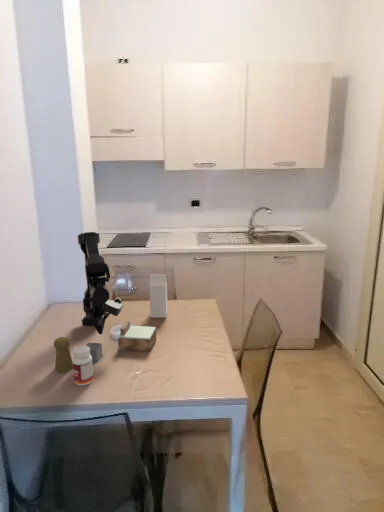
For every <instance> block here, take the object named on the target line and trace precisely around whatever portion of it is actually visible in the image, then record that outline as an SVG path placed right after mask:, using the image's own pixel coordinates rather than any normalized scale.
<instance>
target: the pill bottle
mask: <svg viewBox="0 0 384 512" xmlns="http://www.w3.org/2000/svg"><path fill="white" fill-rule="evenodd" d="M72 355H73V356H72V357H71V359H72V365H73V369H72V375H73V377H72V378H73V383H74V384H75V385H76V386H87V385H89V384H91V383H92V382H93V381H94V368H93V362H92V356H91V355H90V348H89V347H88V346H86V345H80V346H76V347H74V348H73V349H72Z"/></svg>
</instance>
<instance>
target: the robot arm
mask: <svg viewBox="0 0 384 512" xmlns="http://www.w3.org/2000/svg"><path fill="white" fill-rule="evenodd" d="M100 239H101V238H100V233H97V232H95V231H90V232H80V233H79V234H78V235H77V243H78V244H77V245H79V248H80V250H81V251H82V253H83V255H84V261H85V262H84V271H85V272H84V273H85V278H86V288H85V291H84V293H83V298H82V310H83V312H84V314H85V316H84V317H83V318H82V319H81V325H82V326H87V327H94V328H95V330H96V331H97V333H98V334H99V335H103V333H104V329H105V323H106V320H107V318H108V317H109V316H110V315H113V316H114V317H118V316H119V314H121V311H122V308H123V307H124V305H123V304H124V303H123V302H122V298H119V297H116V298H115V299H112V300H111V299H110V293H109V290H108V287H107V286H106V282H107V283H108V282H110V279H111V273H110V268H109V267H110V266H108V263H106V262H105V258H104V257H103V256H101V255H100V251H99V243H100V242H101V241H100Z"/></svg>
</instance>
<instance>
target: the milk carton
mask: <svg viewBox="0 0 384 512" xmlns="http://www.w3.org/2000/svg"><path fill="white" fill-rule="evenodd" d="M148 283H149V284H148V286H149V311H150V312H149V315H150V318H154V319H155V318H157V319H158V318H161V319H162V318H165V319H166V318H167V316H168V281H167V274H149V282H148Z"/></svg>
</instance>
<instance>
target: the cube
mask: <svg viewBox="0 0 384 512" xmlns="http://www.w3.org/2000/svg"><path fill="white" fill-rule="evenodd" d="M85 346H88V347H89V348H90V355H91V356H92V363H95V364H96V363H98V362H99V361H100V360H101V358H102V357H103V347H102V346H103V345H102V342H99V343H98V342H88V343H87V344H86V345H85Z"/></svg>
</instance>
